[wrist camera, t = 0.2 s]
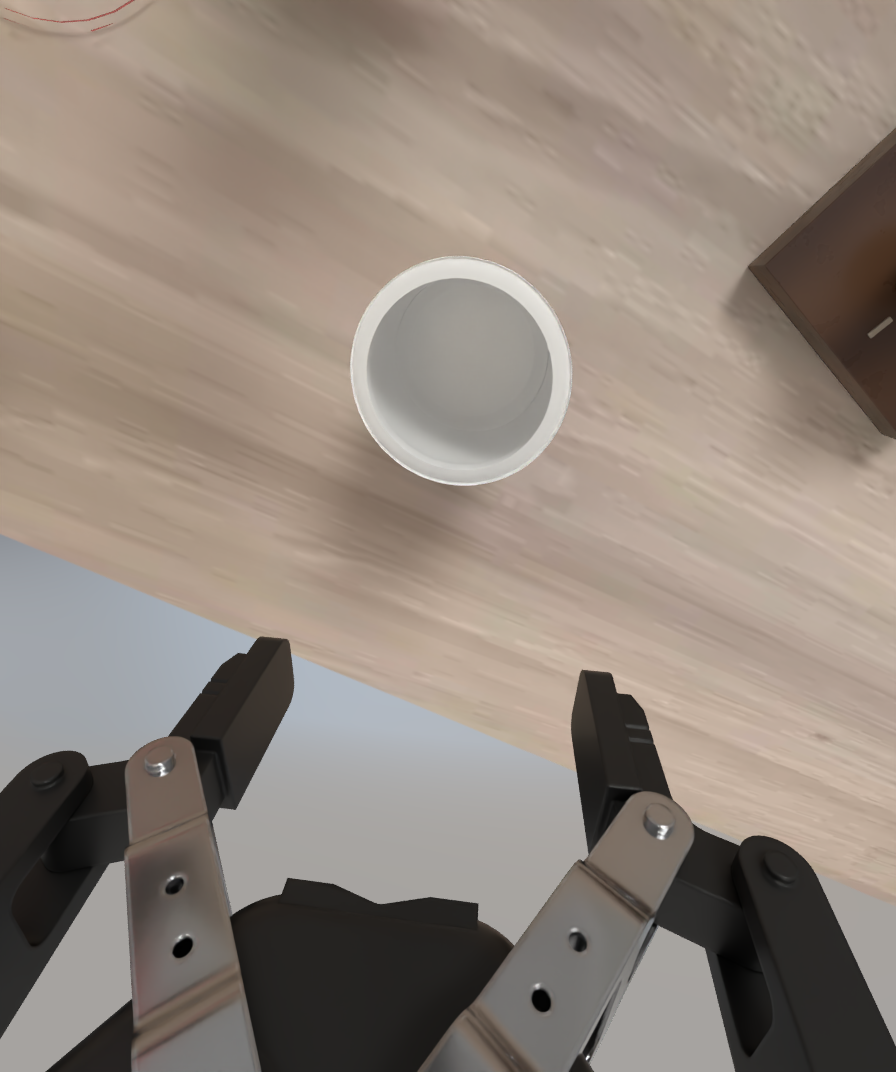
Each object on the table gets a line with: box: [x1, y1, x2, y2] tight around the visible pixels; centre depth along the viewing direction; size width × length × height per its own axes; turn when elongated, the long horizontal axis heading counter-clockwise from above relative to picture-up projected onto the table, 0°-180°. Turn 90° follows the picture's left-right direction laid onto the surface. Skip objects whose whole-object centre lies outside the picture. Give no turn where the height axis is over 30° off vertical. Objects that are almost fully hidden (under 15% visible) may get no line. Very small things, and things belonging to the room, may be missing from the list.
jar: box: [350, 256, 572, 486], centre depth 31 cm, size 11×10×15 cm
